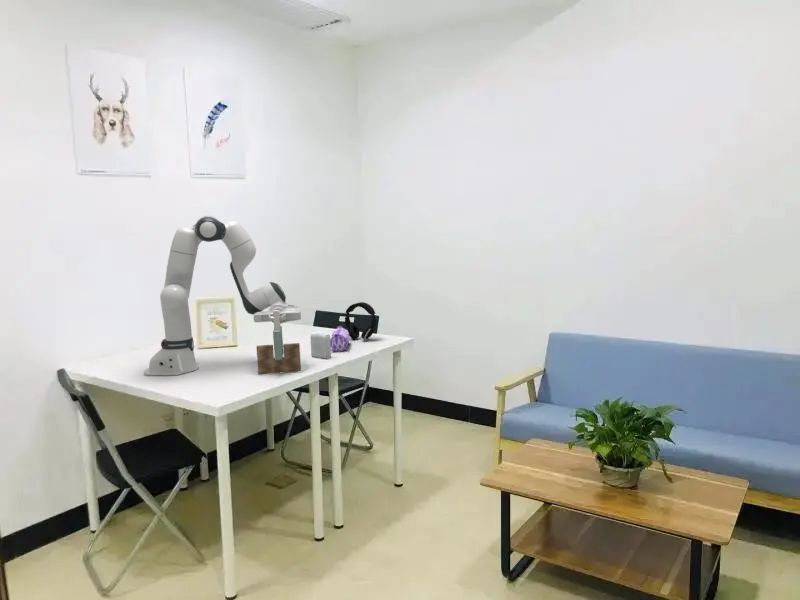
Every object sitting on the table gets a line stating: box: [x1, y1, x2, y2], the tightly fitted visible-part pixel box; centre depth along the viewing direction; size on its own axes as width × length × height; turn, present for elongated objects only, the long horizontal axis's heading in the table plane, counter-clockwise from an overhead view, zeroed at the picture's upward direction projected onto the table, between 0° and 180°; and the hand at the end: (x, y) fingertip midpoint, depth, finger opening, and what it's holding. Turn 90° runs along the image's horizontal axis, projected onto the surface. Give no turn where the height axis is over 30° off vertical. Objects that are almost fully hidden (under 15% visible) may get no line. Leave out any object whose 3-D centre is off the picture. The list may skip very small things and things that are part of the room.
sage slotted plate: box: [272, 310, 284, 360], centre depth 265 cm, size 3×12×20 cm, turn 8°
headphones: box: [344, 301, 377, 341], centre depth 325 cm, size 18×8×20 cm, turn 61°
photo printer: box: [310, 330, 332, 359], centre depth 291 cm, size 10×4×12 cm, turn 56°
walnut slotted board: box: [256, 342, 302, 375], centre depth 266 cm, size 18×2×12 cm, turn 98°
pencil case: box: [330, 325, 351, 353], centre depth 310 cm, size 22×9×10 cm, turn 3°
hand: (276, 319), depth 263 cm, fingers closed on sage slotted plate, 2 cm apart
